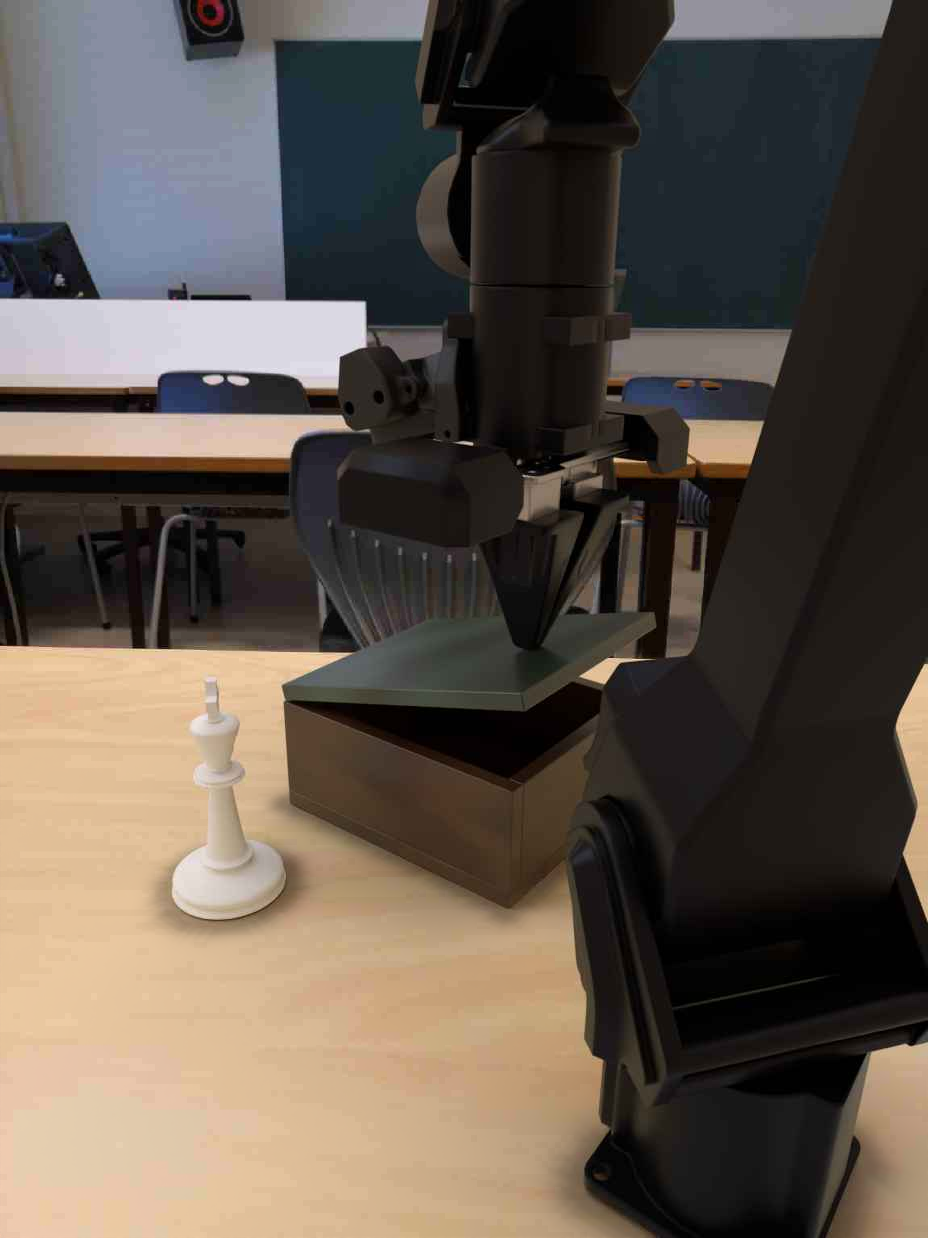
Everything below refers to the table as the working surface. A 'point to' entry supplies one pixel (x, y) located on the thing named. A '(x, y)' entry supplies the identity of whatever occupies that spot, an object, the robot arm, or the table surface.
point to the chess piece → (224, 832)
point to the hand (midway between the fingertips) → (527, 646)
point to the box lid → (470, 663)
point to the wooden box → (450, 781)
